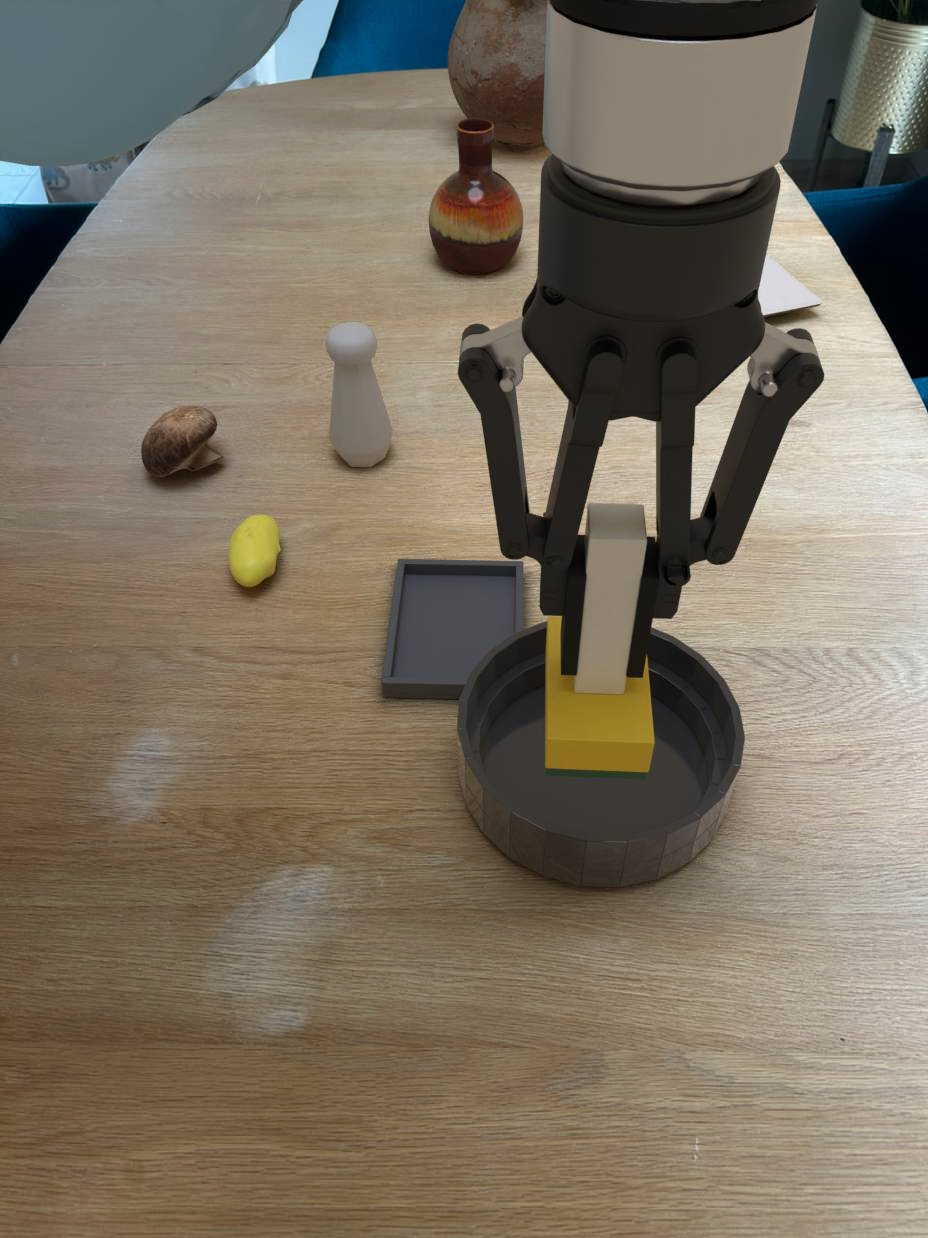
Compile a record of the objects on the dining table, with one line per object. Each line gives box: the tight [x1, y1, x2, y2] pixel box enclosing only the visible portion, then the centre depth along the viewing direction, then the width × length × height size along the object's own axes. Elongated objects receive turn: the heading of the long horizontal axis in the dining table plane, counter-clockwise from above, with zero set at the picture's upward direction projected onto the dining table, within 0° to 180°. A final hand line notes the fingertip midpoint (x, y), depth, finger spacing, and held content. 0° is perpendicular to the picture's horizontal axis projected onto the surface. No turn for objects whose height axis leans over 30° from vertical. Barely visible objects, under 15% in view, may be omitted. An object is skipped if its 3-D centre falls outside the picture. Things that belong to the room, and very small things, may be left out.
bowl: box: [456, 620, 746, 888], centre depth 66 cm, size 18×18×6 cm
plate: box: [758, 253, 824, 318], centre depth 113 cm, size 19×19×2 cm
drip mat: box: [381, 558, 524, 700], centre depth 77 cm, size 13×10×2 cm
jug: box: [447, 0, 548, 152], centre depth 135 cm, size 22×22×30 cm
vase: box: [428, 118, 524, 275], centre depth 115 cm, size 11×11×15 cm
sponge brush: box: [544, 502, 655, 780], centre depth 47 cm, size 8×5×13 cm, turn 176°
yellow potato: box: [227, 514, 282, 588], centre depth 82 cm, size 4×8×4 cm, turn 176°
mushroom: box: [140, 405, 224, 478], centre depth 91 cm, size 8×8×6 cm
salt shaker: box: [325, 321, 394, 468], centre depth 89 cm, size 6×6×13 cm
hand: (600, 654), depth 48 cm, fingers closed on sponge brush, 2 cm apart
